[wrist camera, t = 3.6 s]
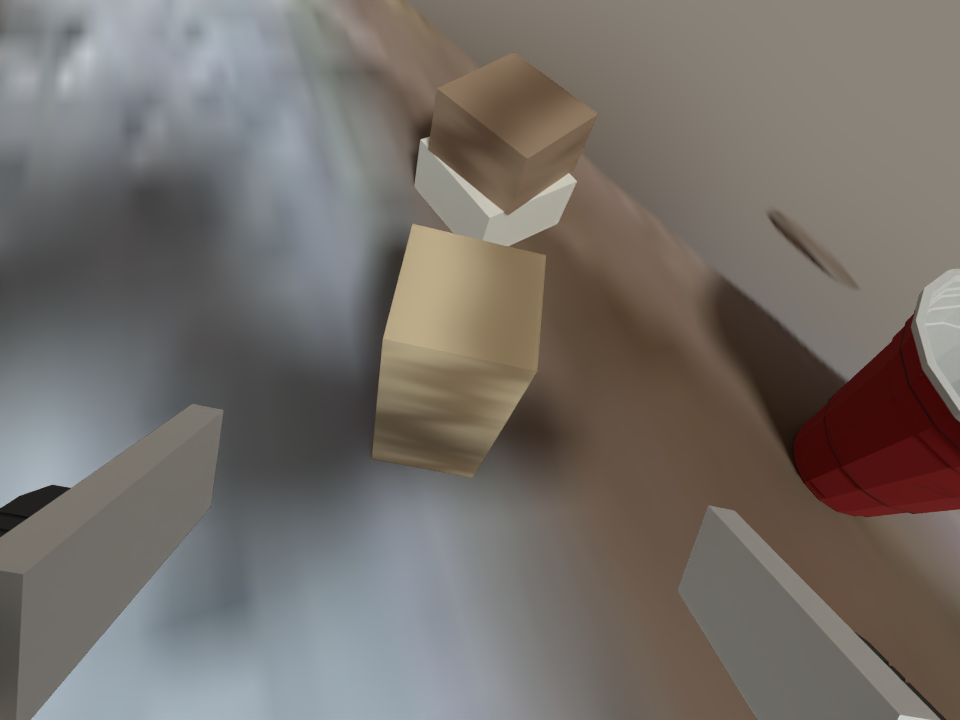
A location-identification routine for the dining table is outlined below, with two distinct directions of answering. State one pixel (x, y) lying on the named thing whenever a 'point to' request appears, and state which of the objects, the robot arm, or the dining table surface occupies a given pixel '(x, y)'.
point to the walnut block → (509, 130)
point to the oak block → (456, 350)
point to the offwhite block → (485, 203)
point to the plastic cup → (894, 420)
